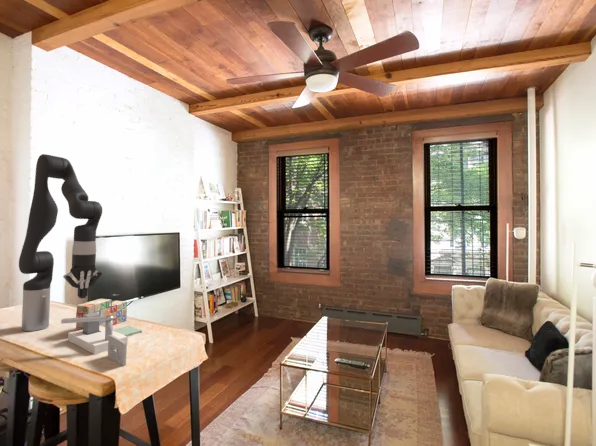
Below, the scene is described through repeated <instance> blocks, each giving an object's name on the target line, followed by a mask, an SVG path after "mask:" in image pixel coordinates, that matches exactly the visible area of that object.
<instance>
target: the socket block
mask: <svg viewBox="0 0 596 446" xmlns="http://www.w3.org/2000/svg"><path fill="white" fill-rule="evenodd" d="M113 327H114V325H113V320H110V321H106V323H105V327H103V326H101V325H100V326H99V332H97V333H93V334H89V335H86V334H83V330H79V331H76V330H75V331H70V332H67V335H68V336H67V341H68V342H70V343H72V344H74V345H76V346H78V347H79V348H82V349H84V350H86V351H88V352H90V353H92V354H94V355H95V354H100V353H103V352H108V339H109V335H113V336H115V337H117V338H119V339H121V340H122V341H124V342H126V343H127V344H128V338H129V336H125V335H123V334H120V333H118V332H115V331H113V330H114V329H113Z"/></svg>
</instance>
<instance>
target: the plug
mask: <svg viewBox="0 0 596 446" xmlns="http://www.w3.org/2000/svg"><path fill="white" fill-rule="evenodd" d="M98 316H100V314H97V313H95V312H94V313H89V314H84V315H83V317H98ZM99 322H100V321H93V322H83V334H86V335H89V334H93V333H97V332H99Z"/></svg>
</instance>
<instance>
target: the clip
mask: <svg viewBox="0 0 596 446" xmlns="http://www.w3.org/2000/svg"><path fill="white" fill-rule="evenodd" d="M110 320H113V316H112V315H110V316H98V317H82V318H76V317H68V318H62V319H61V320H60V321H61V322H60V324H63V325H64V324H73V323H74V324H76V323H78V322H93V321H110Z"/></svg>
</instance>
